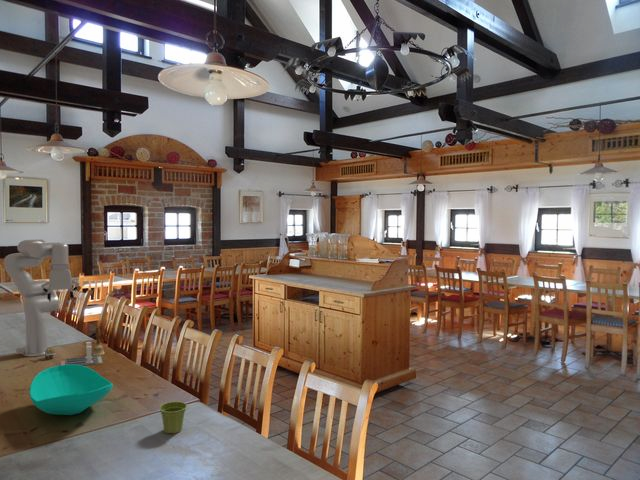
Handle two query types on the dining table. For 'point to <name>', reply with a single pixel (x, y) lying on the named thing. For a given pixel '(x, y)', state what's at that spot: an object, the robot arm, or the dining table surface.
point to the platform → (49, 353)
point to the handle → (88, 344)
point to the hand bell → (98, 344)
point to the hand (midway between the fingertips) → (60, 300)
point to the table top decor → (68, 389)
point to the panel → (82, 361)
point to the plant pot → (173, 416)
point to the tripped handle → (89, 354)
